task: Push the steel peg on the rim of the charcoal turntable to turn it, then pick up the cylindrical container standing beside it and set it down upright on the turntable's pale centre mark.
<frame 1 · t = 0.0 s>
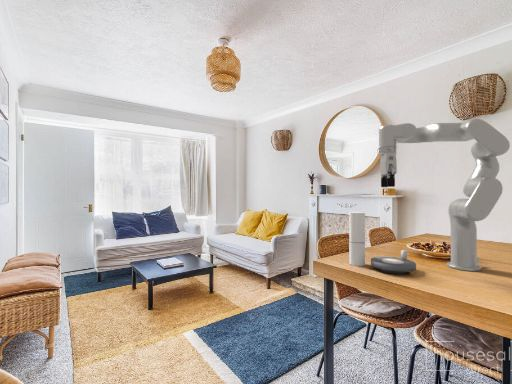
hand: (387, 186, 130), 37 cm above the table, tool pointing down, fingers open, 9 cm apart
cylindrical container: (357, 264, 130), on the table
turntable: (392, 259, 120), point 5 cm above the table, hinge at 0.0°
turntable base: (392, 269, 120), on the table
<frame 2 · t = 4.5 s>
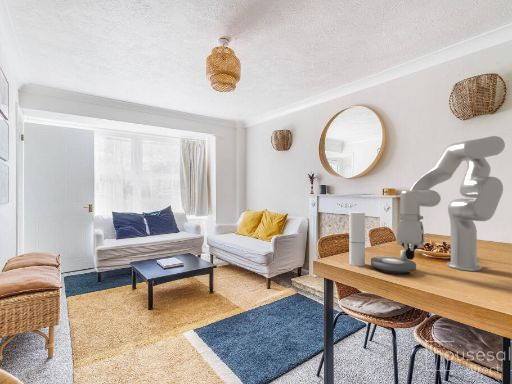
hand: (410, 259, 121), 5 cm above the table, tool pointing down, fingers closed
turntable: (392, 259, 120), point 5 cm above the table, hinge at 2.2°, touching gripper
everything else where it was.
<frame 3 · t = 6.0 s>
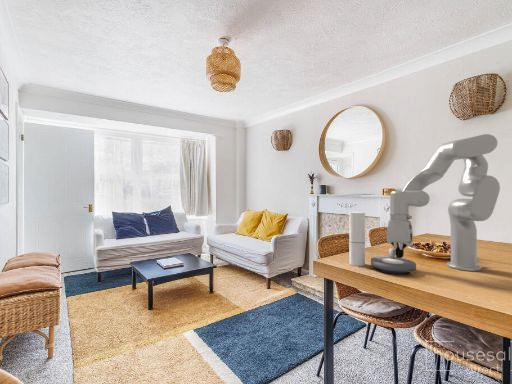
hand: (399, 257, 124), 5 cm above the table, tool pointing down, fingers closed
turntable: (392, 259, 120), point 5 cm above the table, hinge at 39.9°, touching gripper
everything else where it was.
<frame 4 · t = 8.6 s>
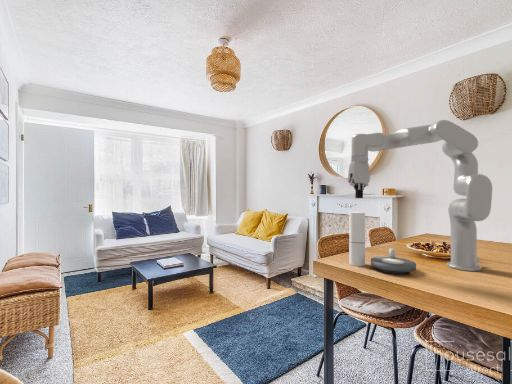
hand: (359, 198, 130), 32 cm above the table, tool pointing down, fingers closed
turntable: (392, 259, 120), point 5 cm above the table, hinge at 39.9°
everything else where it was.
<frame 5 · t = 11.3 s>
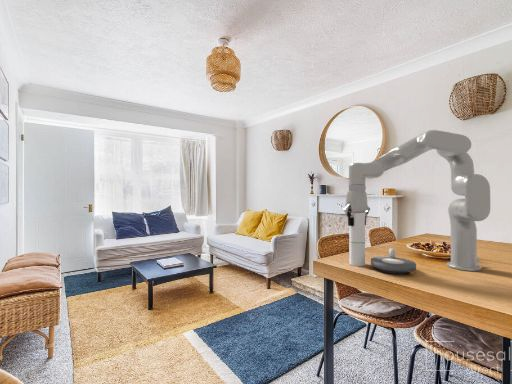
hand: (357, 225, 130), 19 cm above the table, tool pointing down, fingers closed on cylindrical container, 7 cm apart
cylindrical container: (357, 264, 130), on the table, touching gripper
everything else where it was.
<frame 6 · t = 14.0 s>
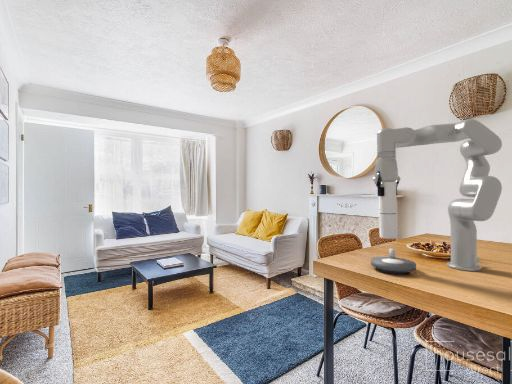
hand: (387, 195, 122), 33 cm above the table, tool pointing down, fingers closed on cylindrical container, 7 cm apart
cylindrical container: (388, 237, 122), point 14 cm above the table, touching gripper
everything else where it was.
when the fingers open (24 cm above the table, at t = 17.2 s): cylindrical container stays where it is, resting on turntable.
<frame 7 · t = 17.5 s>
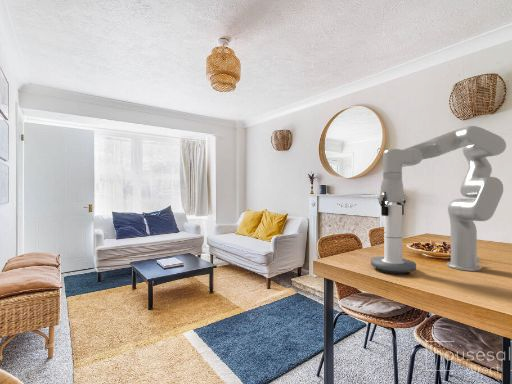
hand: (392, 215, 121), 24 cm above the table, tool pointing down, fingers open, 9 cm apart
cylindrical container: (393, 261, 120), point 4 cm above the table, touching turntable
turntable: (392, 259, 120), point 5 cm above the table, hinge at 39.9°, touching cylindrical container
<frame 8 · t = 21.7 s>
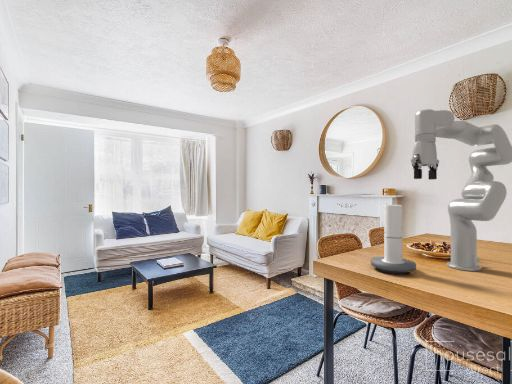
hand: (425, 179, 116), 40 cm above the table, tool pointing down, fingers open, 9 cm apart
nothing on the table moved.
at the end: turntable at +40° (first picture: +0°); cylindrical container 0.2 cm from the turntable (horizontally); cylindrical container tilted 0° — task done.
